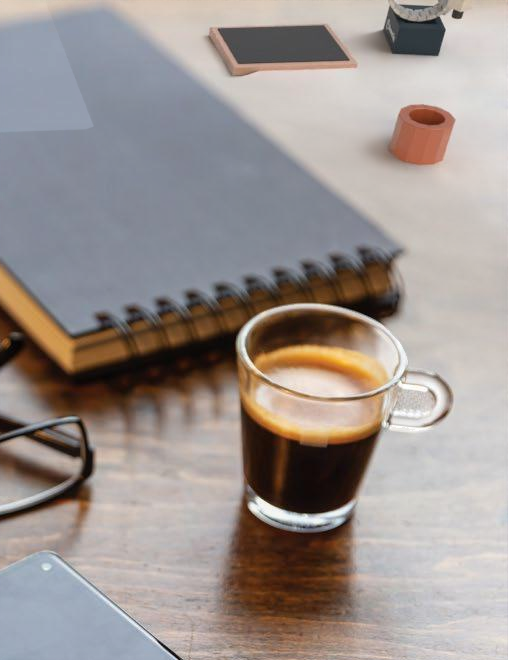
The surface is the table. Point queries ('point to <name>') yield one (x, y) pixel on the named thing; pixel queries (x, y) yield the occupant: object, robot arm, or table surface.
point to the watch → (415, 28)
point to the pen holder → (421, 134)
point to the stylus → (460, 7)
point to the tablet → (280, 48)
